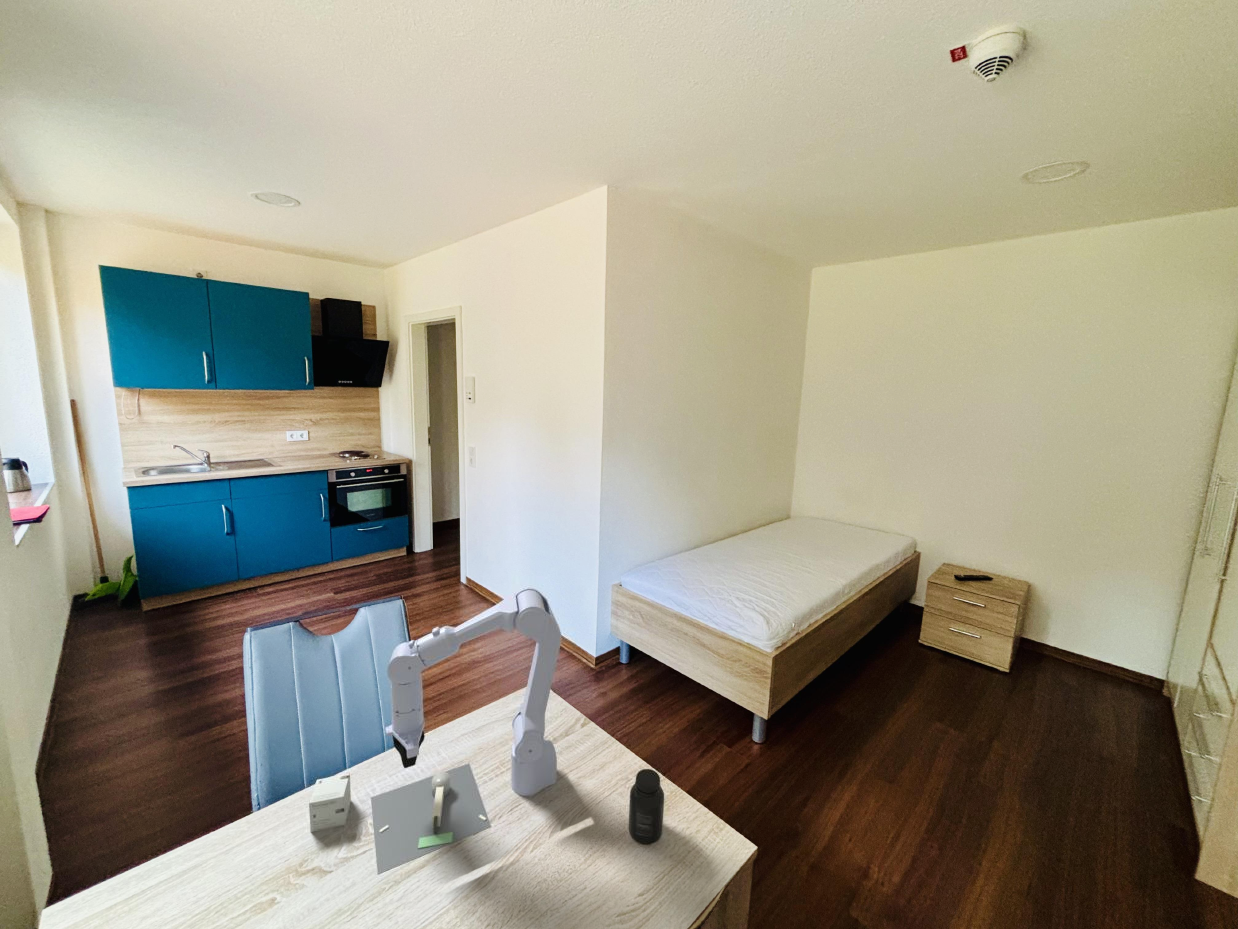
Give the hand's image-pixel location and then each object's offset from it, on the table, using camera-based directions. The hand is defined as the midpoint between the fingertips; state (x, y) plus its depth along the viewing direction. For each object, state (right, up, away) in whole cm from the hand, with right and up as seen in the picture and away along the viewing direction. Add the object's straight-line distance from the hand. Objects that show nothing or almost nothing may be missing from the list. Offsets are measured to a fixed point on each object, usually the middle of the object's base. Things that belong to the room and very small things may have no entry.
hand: (409, 764), depth 99 cm
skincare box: (-15, -10, -2) cm, 18 cm away
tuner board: (+4, -10, 0) cm, 11 cm away
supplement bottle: (+48, -13, -1) cm, 49 cm away
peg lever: (+6, -9, 0) cm, 11 cm away
